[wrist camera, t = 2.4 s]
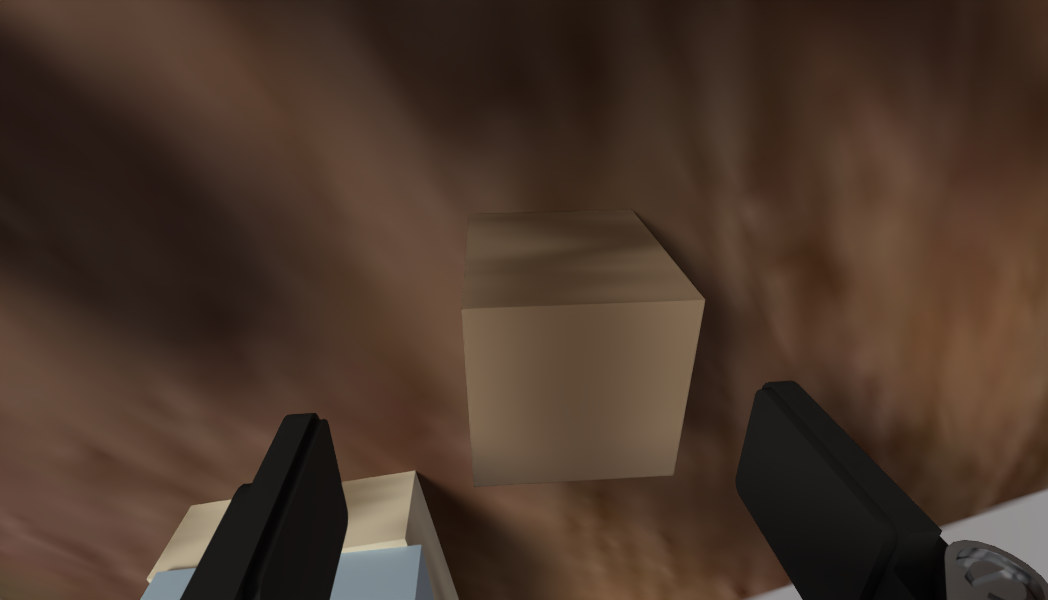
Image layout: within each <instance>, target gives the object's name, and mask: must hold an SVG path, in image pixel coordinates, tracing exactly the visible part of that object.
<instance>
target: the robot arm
mask: <svg viewBox="0 0 1048 600" xmlns="http://www.w3.org/2000/svg"><path fill="white" fill-rule="evenodd" d="M736 488H737V491H738V494H739V496H740V497H741V499H742V501H743V502H744V504H745V506H746V507H747V509H748V510H749V512H750V514H751V515H752V517H753V519H754V520H755V522H756V524H757V525H758V527H759V529H760V530H761V532H762V534H763V535H764V537H765V538H766V540H767V542H768V543H769V545H770V547H771V548H772V550H773V552H774V553H775V555H776V557H777V558H778V560H779V561H780V563H781V565H782V566H783V568H784V570H785V571H786V573H787V575H788V576H789V578H790V580H791V581H792V583H793V585H794V586H795V588H796V589H797V591H798V593H799V594H800V596H801V598H802V599H803V600H1048V583H1047V582H1046V581H1045V580H1044V579H1043V577H1042V576H1041V575H1039V574H1038V573H1037V572H1036V571H1035V570H1034V569H1032V568H1031V567H1030V566H1029V565H1028V564H1026V563H1025V562H1023V561H1021V560H1020V559H1018V558H1017V557H1015V556H1013V555H1012V554H1009V553H1008V552H1005V551H1003V550H1001V549H999V548H997V547H995V546H992V545H988V544H985V543H982V542H978V541H968V540H962V541H957V542H953V543H952V544H951V545H948V544H947V543H946V542H945V541H944V540H943V539H942V538H941V537H940V534H941V532H942V530H941V529H940V528H939V527H938V526H937V525H936V524H935V523H934V522H933V521H932V520H931V519H930V518H929V517H928V516H927V515H926V514H925V513H924V512H923V511H922V510H921V509H920V508H919V507H918V506H917V505H916V504H915V503H914V502H913V501H912V500H911V499H910V498H909V497H908V496H907V495H906V494H905V492H904V491H903V490H902V489H901V488H900V487H899V486H898V485H897V484H896V483H895V482H894V481H893V480H892V479H891V478H890V477H889V476H888V475H887V474H886V473H885V472H884V471H883V470H882V469H881V468H880V467H879V466H878V465H877V464H876V463H875V462H874V461H873V460H872V459H871V458H870V457H869V456H868V455H867V454H866V453H865V452H864V451H863V450H862V449H861V448H860V447H859V446H858V445H857V444H856V443H855V442H854V441H853V440H852V439H851V438H850V436H849V435H848V434H847V433H846V432H845V431H844V430H843V429H842V428H841V427H840V426H839V425H838V424H837V423H836V422H835V421H834V420H833V419H832V418H831V417H830V416H829V415H828V414H827V413H826V412H825V411H824V410H823V409H822V408H821V407H820V406H819V405H818V404H817V403H816V402H815V401H814V400H813V399H812V398H811V397H810V396H809V395H808V394H807V393H806V392H805V391H804V390H803V389H802V388H801V387H800V386H799V385H798V384H797V383H796V382H794V381H780V382H768V383H765V384H764V385H763V387H762V389H760V390H758V391H757V392H756V395H755V398H754V403H753V407H752V411H751V415H750V419H749V424H748V428H747V432H746V436H745V440H744V445H743V449H742V453H741V457H740V461H739V466H738V470H737V474H736ZM347 527H348V509H347V504H346V500H345V495H344V491H343V487H342V482H341V478H340V473H339V469H338V464H337V460H336V455H335V451H334V446H333V442H332V437H331V433H330V428H329V424H328V421H327V420H326V419H322V420H319V417H318V415H317V414H316V413H306V414H291V415H287V416H285V418H284V419H283V421H282V423H281V425H280V427H279V429H278V431H277V433H276V435H275V437H274V440H273V442H272V444H271V446H270V448H269V450H268V452H267V454H266V456H265V458H264V460H263V462H262V464H261V466H260V468H259V470H258V472H257V474H256V476H255V478H254V480H253V482H252V483H250V484H243V485H242V486H240V487H239V488H238V490H237V491H236V493H235V494H234V496H233V498H232V500H231V502H230V504H229V506H228V508H227V510H226V511H225V513H224V515H223V517H222V519H221V521H220V523H219V525H218V527H217V529H216V531H215V533H214V535H213V537H212V538H211V540H210V542H209V544H208V546H207V548H206V550H205V552H204V554H203V556H202V558H201V560H200V562H199V563H198V565H197V567H196V569H195V571H194V573H193V575H192V577H191V579H190V581H189V583H188V585H187V587H186V589H185V590H184V592H183V594H182V596H181V598H180V600H330V597H331V593H332V588H333V584H334V580H335V576H336V572H337V568H338V564H339V560H340V556H341V552H342V548H343V544H344V540H345V536H346V532H347Z"/></svg>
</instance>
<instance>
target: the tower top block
mask: <svg viewBox="0 0 1048 600" xmlns="http://www.w3.org/2000/svg"><path fill="white" fill-rule="evenodd" d="M195 569H196V568H191V569H182V570H172V571H163V572H157V573H156V574H155V576H154V578H153V579H152V581H151V583H150V584H149V586H148V588H147V589H146V591H145V593H144V594H143V596H142V598H141V599H140V600H180V598H181V596H182V594H183V592H184V590H185V589H186V587H187V585H188V583H189V581H190V579H191V577H192V575H193V573H194V571H195ZM330 600H434V595H433V591H432V587H431V583H430V579H429V574H428V570H427V566H426V562H425V558H424V553H423V549H422V545H413V546H406V547H396V548H386V549H376V550H367V551H357V552H347V553H341V556H340V560H339V564H338V568H337V572H336V576H335V580H334V584H333V588H332V593H331V597H330Z"/></svg>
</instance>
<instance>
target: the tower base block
mask: <svg viewBox="0 0 1048 600" xmlns="http://www.w3.org/2000/svg"><path fill="white" fill-rule="evenodd" d="M342 487H343V491H344V495H345V500H346V504H347V509H348V527H347V532H346V536H345V540H344V544H343V548H342V552H341V553H347V552H357V551H367V550H376V549H386V548H396V547H406V546H413V545H422V549H423V553H424V558H425V562H426V566H427V570H428V574H429V579H430V583H431V587H432V591H433V595H434V600H459V598H458V595H457V593H456V590H455V587H454V584H453V581H452V578H451V575H450V572H449V569H448V566H447V563H446V560H445V557H444V554H443V551H442V548H441V545H440V542H439V539H438V536H437V533H436V530H435V527H434V525H433V522H432V519H431V516H430V513H429V510H428V507H427V504H426V501H425V498H424V495H423V492H422V489H421V486H420V483H419V480H418V477H417V474H416V471H410V472H404V473H397V474H391V475H385V476H378V477H372V478H366V479H359V480H353V481H346V482H342ZM230 502H231V500H225V501H219V502H213V503H206V504H200V505H193V506H191V507H190V509H189V511H188V512H187V514H186V516H185V517H184V519H183V520H182V522H181V524H180V525H179V527H178V529H177V530H176V532H175V534H174V535H173V537H172V538H171V540H170V542H169V543H168V545H167V547H166V548H165V550H164V552H163V553H162V555H161V557H160V558H159V560H158V561H157V563H156V565H155V566H154V568H153V570H152V571H151V573H150V575H149V576H148V578H147V580H148V582H149V583H151V581H152V579H153V578H154V576H155V574H156V573H157V572H163V571H172V570H182V569H191V568H196V567H197V565H198V563H199V562H200V560H201V558H202V556H203V554H204V552H205V550H206V548H207V546H208V544H209V542H210V540H211V538H212V537H213V535H214V533H215V531H216V529H217V527H218V525H219V523H220V521H221V519H222V517H223V515H224V513H225V511H226V510H227V508H228V506H229V504H230Z"/></svg>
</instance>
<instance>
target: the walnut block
mask: <svg viewBox="0 0 1048 600" xmlns="http://www.w3.org/2000/svg"><path fill="white" fill-rule="evenodd" d="M704 304H705V299H704V298H703V296H702V295H701V294H700V293H699V292H698V290H697V289H696V288H695V287H694V285H693V284H692V283H691V282H690V280H689V279H688V278H687V277H686V276H685V274H684V273H683V272H682V271H681V269H680V268H679V267H678V266H677V265H676V263H675V262H674V261H673V260H672V258H671V257H670V256H669V255H668V253H667V252H666V251H665V250H664V249H663V247H662V246H661V245H660V244H659V242H658V241H657V240H656V239H655V238H654V236H653V235H652V234H651V233H650V231H649V230H648V229H647V228H646V226H645V225H644V224H643V223H642V222H641V220H640V219H639V218H638V217H637V215H636V214H635V213H634V212H633V211H632V210H597V211H560V212H522V213H485V214H469V220H468V232H467V245H466V258H465V270H464V283H463V295H462V308H461V310H462V324H463V338H464V353H465V367H466V381H467V395H468V409H469V423H470V437H471V451H472V465H473V479H474V487H480V486H498V485H515V484H532V483H549V482H566V481H583V480H601V479H618V478H635V477H652V476H669V475H673V474H674V469H675V463H676V458H677V452H678V447H679V442H680V436H681V431H682V425H683V420H684V414H685V409H686V403H687V398H688V392H689V387H690V381H691V376H692V370H693V365H694V359H695V354H696V348H697V343H698V337H699V332H700V326H701V321H702V315H703V310H704Z"/></svg>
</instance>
